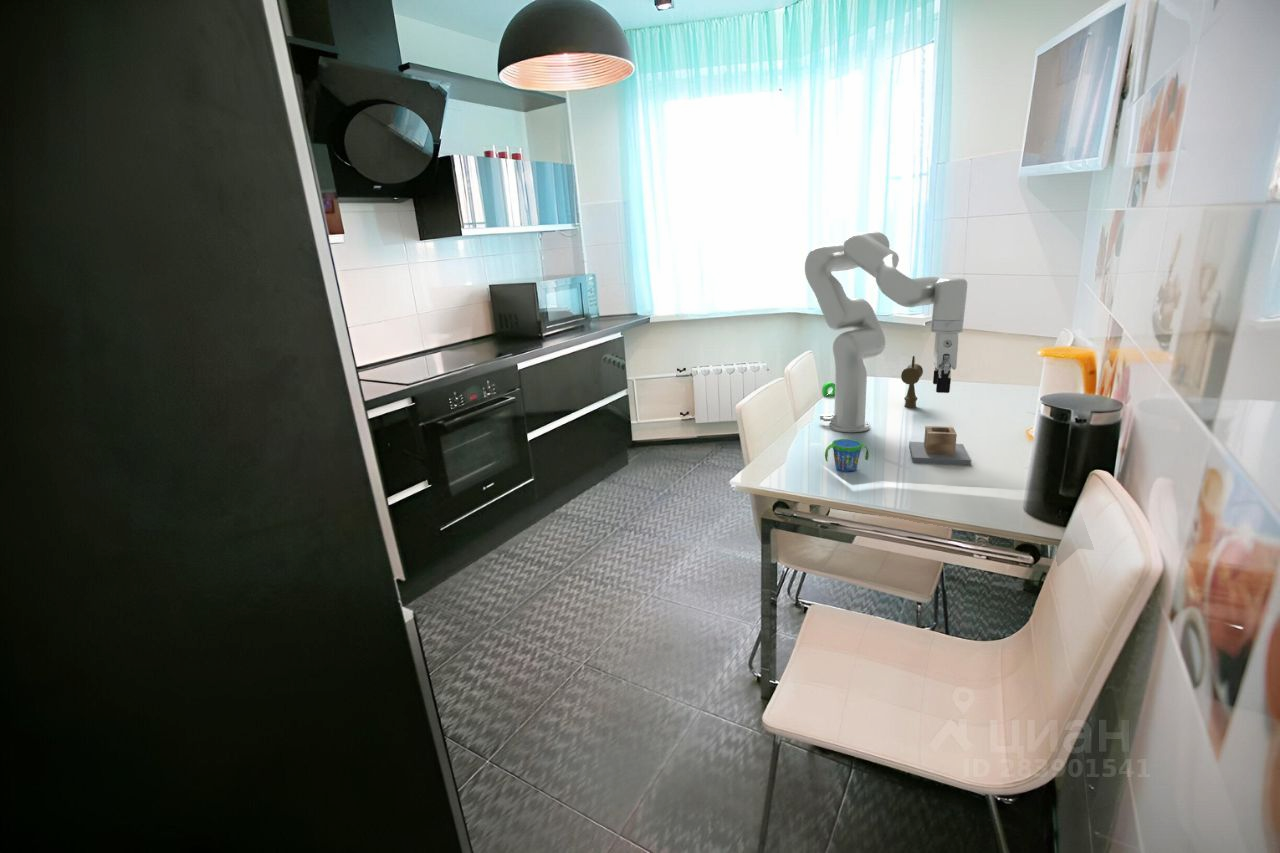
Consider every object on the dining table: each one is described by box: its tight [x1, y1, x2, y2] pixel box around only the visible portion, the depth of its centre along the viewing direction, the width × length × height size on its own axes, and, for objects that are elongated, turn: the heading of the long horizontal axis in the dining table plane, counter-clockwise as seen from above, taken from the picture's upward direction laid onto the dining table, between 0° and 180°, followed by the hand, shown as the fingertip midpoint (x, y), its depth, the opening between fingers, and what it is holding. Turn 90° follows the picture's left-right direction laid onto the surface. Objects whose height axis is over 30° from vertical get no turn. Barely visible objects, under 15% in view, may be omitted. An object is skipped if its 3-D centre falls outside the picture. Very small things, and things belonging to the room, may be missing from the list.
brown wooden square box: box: [923, 425, 958, 455], centre depth 161 cm, size 7×7×6 cm
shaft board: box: [908, 441, 972, 466], centre depth 162 cm, size 14×14×6 cm
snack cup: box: [824, 438, 870, 473], centre depth 157 cm, size 11×8×7 cm
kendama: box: [900, 355, 924, 409], centre depth 204 cm, size 6×10×20 cm, turn 147°
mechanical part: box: [821, 381, 835, 397], centre depth 224 cm, size 12×6×8 cm, turn 94°
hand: (940, 388), depth 160 cm, fingers open, 9 cm apart
